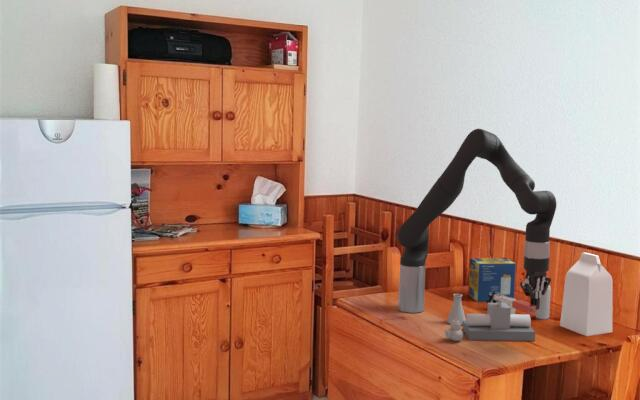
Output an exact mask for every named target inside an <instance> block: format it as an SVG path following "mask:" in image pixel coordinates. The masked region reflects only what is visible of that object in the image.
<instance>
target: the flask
mask: <svg viewBox="0 0 640 400" xmlns="http://www.w3.org/2000/svg"><path fill="white" fill-rule="evenodd" d="M452 296H453V301H452V306H451V309H450V311H449V314H448V316H447V318H446V323H447V324H449V325H450V323H451V321H452V320H453V319H456V317H457V320H458V321H459V323H460V324H461V326H463V321H467V316H466V314H465V311H464V308H463V303H462V297H463V294H462V293H453V294H452Z"/></svg>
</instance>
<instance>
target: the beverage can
mask: <svg viewBox="0 0 640 400" xmlns="http://www.w3.org/2000/svg"><path fill="white" fill-rule="evenodd" d="M551 287H552V286H551V285H550V284H549V286H548V288H547V290H546V292H545V294H544V295H541V298H540V306H539V309H538V310H536V312H535V313H534V316H535V318H536V319H538V320H546V321H547V320H548V319H550V311H551V309H550V308H551V291H552V290H551V289H552V288H551Z"/></svg>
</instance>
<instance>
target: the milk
mask: <svg viewBox="0 0 640 400" xmlns="http://www.w3.org/2000/svg"><path fill="white" fill-rule="evenodd" d="M613 283H614V282H613V277H612V275H611V273H609V271H608V270H607V269H606V268H605V267H604V266H603V264H602V263H601V260H600V256H599V255H596V254H593V253H589V252H581V255H580V257H579V259H578V260H577V261H576V262H575V264H573V265H572V266H571V267H570V268H569V269H568V270H567V272H566V274H565V279H564V288H563V295H562V305H561V315H560V321H559V326H560V327H561V328H564V329H567V330H570V331H572V332H575V333H577V334H580V335H582V336H584V337H590V336H597V335H604V334H608V333H613V301H614V300H613V298H614V295H613V294H614V292H613V289H614V288H613V287H614V286H613Z"/></svg>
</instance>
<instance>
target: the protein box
mask: <svg viewBox="0 0 640 400" xmlns="http://www.w3.org/2000/svg"><path fill="white" fill-rule="evenodd" d="M516 267H517V264H516V262H514V261H512V260H510V259H508V258H507V257H469V279H468V281H469V282H468V296H469V297H471V298H472V299H473V300H474V301H475V302H477V303H486V300H489V298H488V295H491V296H492V293H493V292H494V293H496V294H502V295H504V296H506V297H509V298H515V287H516V286H515V285H516ZM492 299H494V297H493V298H492ZM491 301H492V300H491ZM491 301H490V303H492V302H491Z"/></svg>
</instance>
